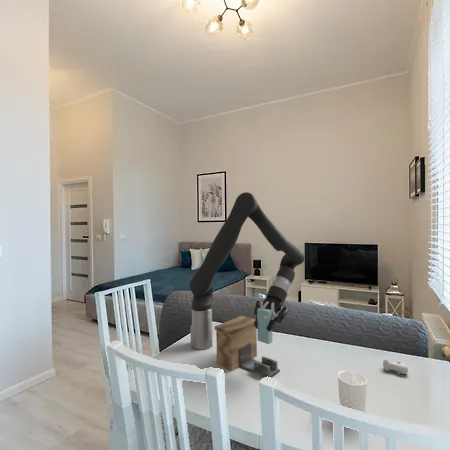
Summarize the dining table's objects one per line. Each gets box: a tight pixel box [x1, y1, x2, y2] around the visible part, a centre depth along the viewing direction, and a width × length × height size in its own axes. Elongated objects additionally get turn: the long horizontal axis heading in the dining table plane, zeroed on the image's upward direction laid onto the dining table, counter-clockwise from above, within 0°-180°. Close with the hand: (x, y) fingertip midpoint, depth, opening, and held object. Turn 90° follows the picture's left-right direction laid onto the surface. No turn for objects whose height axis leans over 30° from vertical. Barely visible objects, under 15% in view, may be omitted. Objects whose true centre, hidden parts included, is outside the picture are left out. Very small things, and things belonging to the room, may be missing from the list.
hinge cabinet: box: [214, 315, 281, 378], centre depth 112 cm, size 22×17×15 cm
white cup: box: [337, 370, 368, 413], centre depth 84 cm, size 8×8×10 cm
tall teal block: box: [256, 308, 273, 345], centre depth 107 cm, size 5×3×12 cm
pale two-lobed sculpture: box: [382, 358, 409, 375], centre depth 106 cm, size 4×8×5 cm
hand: (262, 328), depth 106 cm, fingers closed on tall teal block, 5 cm apart
